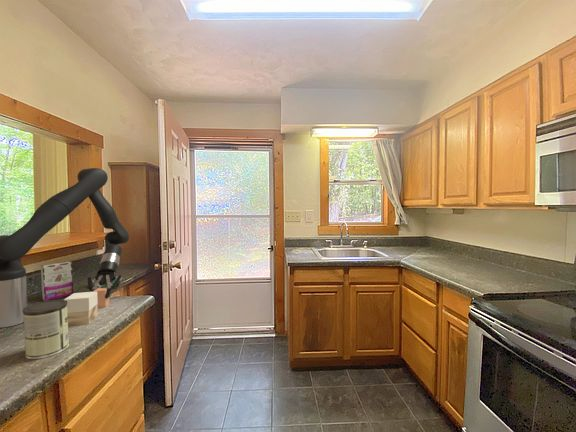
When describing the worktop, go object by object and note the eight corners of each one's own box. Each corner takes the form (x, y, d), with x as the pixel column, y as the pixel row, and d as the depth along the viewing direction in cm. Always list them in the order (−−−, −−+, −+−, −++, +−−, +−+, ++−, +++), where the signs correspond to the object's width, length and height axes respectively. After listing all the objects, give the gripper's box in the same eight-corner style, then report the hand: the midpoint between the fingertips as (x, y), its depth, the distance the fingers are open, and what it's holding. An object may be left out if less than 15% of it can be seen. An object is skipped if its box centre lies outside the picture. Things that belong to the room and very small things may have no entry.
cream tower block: (89, 310, 105) (88, 297, 104) (64, 313, 103) (63, 299, 102) (97, 303, 112) (97, 291, 112) (74, 305, 110) (73, 293, 110)
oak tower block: (88, 324, 105) (88, 311, 104) (64, 326, 103) (63, 313, 102) (97, 316, 112) (97, 303, 112) (74, 318, 110) (74, 305, 110)
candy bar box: (70, 293, 141) (69, 261, 140) (73, 295, 138) (72, 262, 137) (41, 299, 132) (40, 265, 132) (44, 301, 129) (42, 266, 128)
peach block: (105, 307, 122) (105, 290, 121) (93, 308, 120) (93, 291, 120) (109, 303, 126) (109, 287, 126) (98, 304, 125) (97, 288, 124)
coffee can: (21, 351, 85) (19, 306, 84) (64, 339, 93) (62, 297, 92) (28, 364, 78) (25, 314, 78) (73, 349, 86) (71, 304, 86)
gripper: (89, 261, 128) (77, 295, 117) (124, 259, 131) (115, 292, 120) (94, 270, 133) (83, 303, 122) (127, 268, 137) (120, 300, 125)
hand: (99, 298), depth 121 cm, fingers closed on peach block, 4 cm apart
